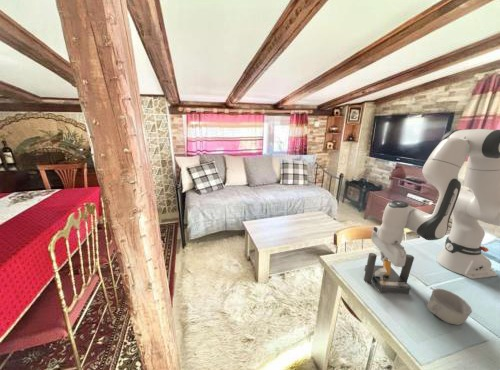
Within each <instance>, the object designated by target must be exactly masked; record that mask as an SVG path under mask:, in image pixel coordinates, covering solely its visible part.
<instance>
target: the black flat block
mask: <svg viewBox="0 0 500 370" xmlns="http://www.w3.org/2000/svg"><path fill="white" fill-rule="evenodd" d="M366 266H367V264H365V267H364V272H365V271H366ZM379 268H383V265H376V264H375V266H374V271H373V276H372V280H371V282H372V283H373V284H374V285H375V287H376V289H377V290H378V292H379V293H381V294H404V295H409V294H410V291H411V287H410V286H409V285H408V284H407V283H405V282H404V281H403V280H402V278H401V277H400V274H398V273H397V272H396V271H395V270H394V269H393V267H392V266H391V270H390V275H382V276H381V277H377V276H374V272H376V271H377V270H378V269H379Z"/></svg>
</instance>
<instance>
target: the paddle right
mask: <svg viewBox="0 0 500 370" xmlns="http://www.w3.org/2000/svg"><path fill="white" fill-rule="evenodd" d="M386 272H387V271H386V268H379V269H378V270H377V271H376V272H374V276H377V277H381V276H382V275H384V274H385V273H386Z"/></svg>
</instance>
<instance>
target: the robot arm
mask: <svg viewBox="0 0 500 370" xmlns="http://www.w3.org/2000/svg"><path fill="white" fill-rule="evenodd" d="M467 157H468V158H467ZM466 159H467V163H466V167H465V173H464V180H463V182H464V184H465V186H466V187H467V188H468V189H470V191H469V190H463V189H462V182H461V181H460V180H459V172H460V170H461V169H462V168H463V165H464V163H465V161H466ZM421 173H422V176H423V178H424V179H425V180H426V182H428V183H429V184H430V185H432V186H433V187H434V188H436V190H437V192H438V194H439V196H438V199H437V202H436V205H435V206H434V210H433V212H432V214H430V213H427V212H425V211H423V210H421V209H418V208H416V207H414V206H411V205H410V204H409V203H407V202H406V201H403V200H398V199H397V200H396V199H394V200H390V201H389V202H388V203H387V204H386V206H385V208H384V211H383V213H382V218H381V220H382V223H381V224H380V225H373V226H372V232H371V242H372V243H373V244H374V246H376V247H377V249H378V250H379V251H380V252H379V254H380V260H381V261H382V262H383V261H388V260H389V261H390V262H391V265H393V266H394V267H396V268H397V267H398V268H399V267H401V268H402V267H403V266H404V265H405V261H406V254H407V251H406V250H405V247H404V246H403V245H401V243H402V242H403V238H404V234H405V229H408V230H409V231H411V232H412V233H415V234H417V235H418V236H419V237H421V238H422V239H424V240H425V241H437V240H441V239H443V238H444V237H445V236H446V234H447V232H448V228H449V222H450V220H451V221H452V222H451V223H452V224H451V228H450V231H449V234H448V236H447V237H446V239H445V243H444V244H443V247H442V248H441V250H440V251H439V252H438V254H437V257H436V262H437V263H438V264H439V265H441V267H443V268H445V269H447V270H449V271H451V272H453V273H456V274H459V275H461V276H462V275H463V276H465V277H467V278H469V279H473V280H474V279H483V278H489V277H490V278H491V277H492V278H493V277H496V276H497V273H496V271H495V270H494V269H493V268H492V261H491V260H490V259H489V258H488V257H487V256H486V255H484V254H483V253H482V252H484V253H487V252H488V251H489V248H488V247H485V246H484V245H483V246H482V242H483V240H484V237H485V235H486V232H485V229H484V228H483V227H482V226H481V224H480V223H479V221H480V222H483V223H485V224H488V225H493V226H497V227H500V129H490V128H489V129H488V128H487V129H486V128H475V129H454V130H450V131H447V132H446V133H445V134H444V135H443V136H442V137H441V139H440V141H439V143H438V144H437V146H436V147H435V148H434V149H433V150H432V152H431V153H430V155H429V156H428V157H427V159H426V161H425V163H424V164H423V167H422V169H421Z"/></svg>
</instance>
